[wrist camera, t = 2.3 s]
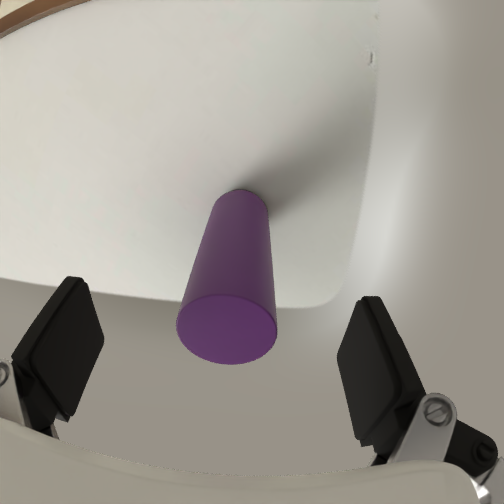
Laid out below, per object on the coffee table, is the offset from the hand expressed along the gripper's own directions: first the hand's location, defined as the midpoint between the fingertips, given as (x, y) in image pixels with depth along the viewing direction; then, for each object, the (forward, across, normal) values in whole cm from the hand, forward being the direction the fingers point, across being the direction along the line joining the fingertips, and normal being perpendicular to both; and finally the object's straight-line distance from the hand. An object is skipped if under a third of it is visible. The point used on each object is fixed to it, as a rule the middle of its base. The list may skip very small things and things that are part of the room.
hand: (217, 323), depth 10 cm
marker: (+9, 0, 0) cm, 9 cm away
